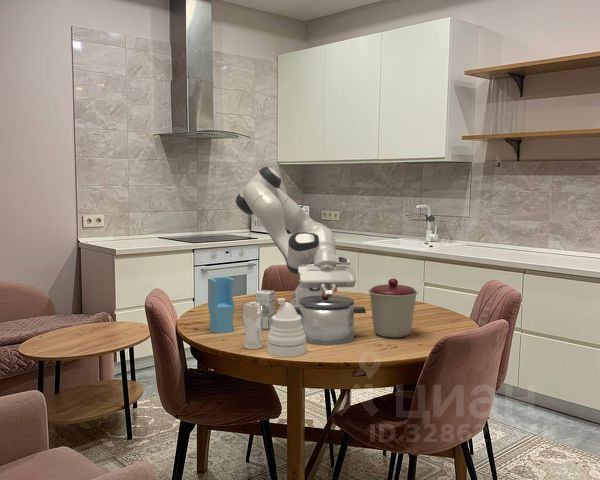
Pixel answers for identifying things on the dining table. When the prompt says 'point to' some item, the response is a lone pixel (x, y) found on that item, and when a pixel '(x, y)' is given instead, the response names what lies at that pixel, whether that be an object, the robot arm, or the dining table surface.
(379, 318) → the canister
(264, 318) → the syrup box
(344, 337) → the cooker pot
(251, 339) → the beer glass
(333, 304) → the cooker lid
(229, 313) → the blue toy chair
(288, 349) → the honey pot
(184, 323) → the dining table surface
